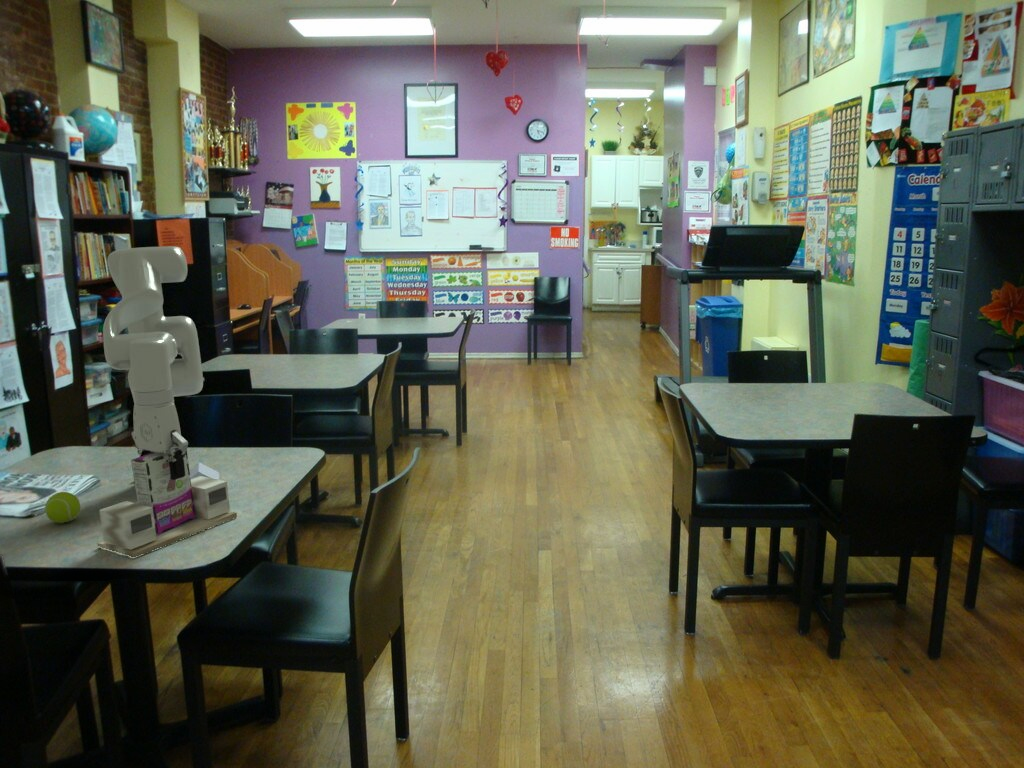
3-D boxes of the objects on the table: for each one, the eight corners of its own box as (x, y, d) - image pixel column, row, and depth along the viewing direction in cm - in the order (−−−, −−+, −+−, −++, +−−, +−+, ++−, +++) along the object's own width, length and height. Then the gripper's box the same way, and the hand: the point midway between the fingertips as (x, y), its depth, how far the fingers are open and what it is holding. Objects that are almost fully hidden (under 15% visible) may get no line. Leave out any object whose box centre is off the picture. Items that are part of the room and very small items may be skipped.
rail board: (98, 548, 174) (92, 509, 173) (201, 509, 196) (198, 474, 194) (133, 559, 168) (128, 518, 167) (237, 517, 190) (233, 481, 188)
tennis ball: (56, 517, 194) (51, 488, 193) (87, 516, 195) (83, 487, 193) (41, 528, 187) (37, 498, 186) (73, 526, 188) (69, 497, 186)
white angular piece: (182, 490, 211) (180, 506, 199) (179, 464, 210) (177, 479, 198) (220, 485, 214) (220, 500, 202) (217, 459, 213) (218, 474, 201)
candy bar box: (179, 515, 188) (171, 444, 185) (196, 518, 186) (188, 446, 183) (139, 533, 178) (129, 458, 175) (156, 536, 176) (147, 460, 173)
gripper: (112, 396, 178) (122, 473, 182) (165, 405, 169) (174, 486, 173) (144, 389, 184) (153, 463, 188) (196, 397, 175) (204, 475, 179)
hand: (163, 474), depth 180 cm, fingers open, 9 cm apart
